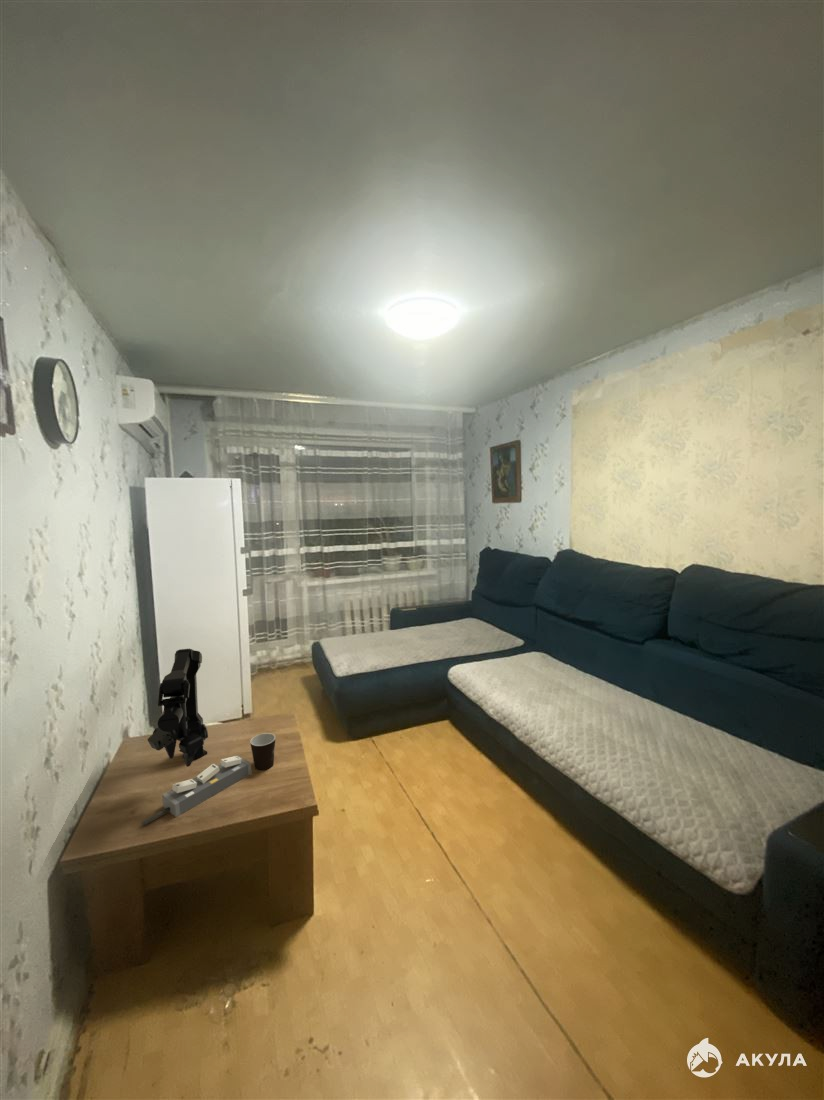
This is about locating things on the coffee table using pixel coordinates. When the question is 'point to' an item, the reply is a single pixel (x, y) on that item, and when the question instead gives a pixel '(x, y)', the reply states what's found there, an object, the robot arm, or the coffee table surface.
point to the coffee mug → (263, 751)
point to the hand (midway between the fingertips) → (179, 762)
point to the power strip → (202, 790)
